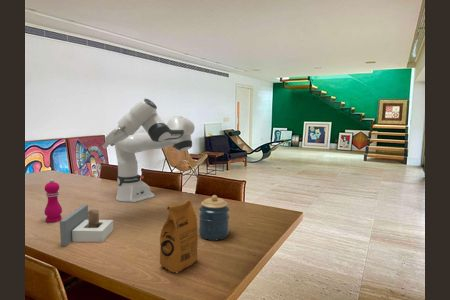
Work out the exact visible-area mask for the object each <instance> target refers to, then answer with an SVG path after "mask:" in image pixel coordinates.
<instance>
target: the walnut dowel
mask: <svg viewBox="0 0 450 300" xmlns="http://www.w3.org/2000/svg"><path fill="white" fill-rule="evenodd" d="M88 220H89V228H98V227H99V220H100V211H99V209H91V210H88Z"/></svg>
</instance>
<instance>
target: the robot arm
mask: <svg viewBox="0 0 450 300" xmlns="http://www.w3.org/2000/svg"><path fill="white" fill-rule="evenodd" d="M157 109H158V108H157V105H156V103H154V102H153V101H152V100H151V99H148V98H143V99H141V100H140V101H138V102H137V103H136V104H135V105H133V107H131V108H130V111H129V112H128V113H126V114H125V115H123V116H122V118H121V119H119V120H118V121H117V125H118V126H117V127H115V128H113V130H111V132H110V133H108V134H107V135H106V136H105V137H104V141H105V142H104V143H103V145H101V147H102V149H104V150H105V149H107V148H108V147H109V146H110V147H114V149H115V155H116V160H117V161H116V162H117V175H116V176H117V179H116V180H117V181H116V183H117V193H116V197H115V200H116V201H118V202H131V203H135V202H140V201H143V200H148V199H151V198H154V197H155V194H154V193H153V192H152V191H151V187H150V186H149V185H148V184H147V183H146V182H144V181H142V180H143V179H144V178H145V177H144V175H142V174H141V175H140V174H139V171H138V169H139V167H138V160H137V157H136V154H137V153H141V152H146V151H150V150H151V151H152V150H161V149H165V148H169V147H172V148H174V149H176V151H180V152H184V151H185V152H186V151H188V150H190V149H191V148H192V147H193V141H192V135H193V133H194V132H195V124H194V123H193V122H192V121H191V120H189V119H188V118H185V117H183V116H177V115H175V116H172V117H171V118H170V119H168V121H167V124H166V123H165V122H164V120H163V119H162V118H161V117H160V116H159V114H158V113H157ZM141 127H142V128H143V129H144V132H140V133H136V132H138V130H139V129H140V128H141ZM141 179H142V180H141Z"/></svg>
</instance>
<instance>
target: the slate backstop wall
mask: <svg viewBox="0 0 450 300" xmlns="http://www.w3.org/2000/svg"><path fill="white" fill-rule="evenodd" d="M88 211H89V204H82V205H81V206H79V207H78V208H77V209H75V210H74V211H73V212H71V213H70V214H68V215H66V216H65V217H64V218H63V219H62V218H61V220H60V221H59V229H60V230H59V231H60V232H59V233H60V246H61V247H67V246H68V245H69V244H70V243H71V242H73V240H72V230H74V229H75V228H76V227H77V226H78V225H80V224H81V223H82V222H83V221H84V220H88Z"/></svg>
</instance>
